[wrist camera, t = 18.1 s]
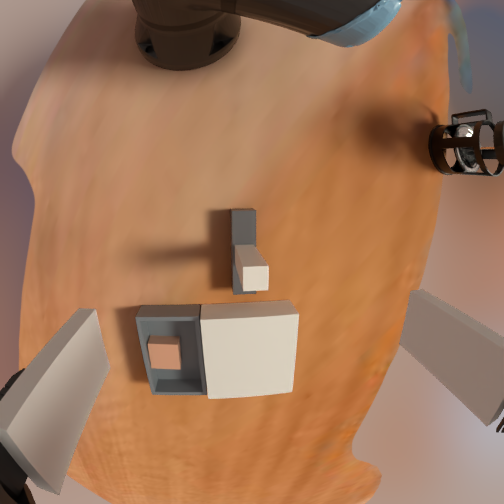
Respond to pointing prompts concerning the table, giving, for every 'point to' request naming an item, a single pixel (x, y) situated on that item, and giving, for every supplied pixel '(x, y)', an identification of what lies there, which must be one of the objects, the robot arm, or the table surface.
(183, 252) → the table surface
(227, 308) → the plate
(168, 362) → the tile
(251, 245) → the scraper
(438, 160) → the french press
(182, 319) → the box
